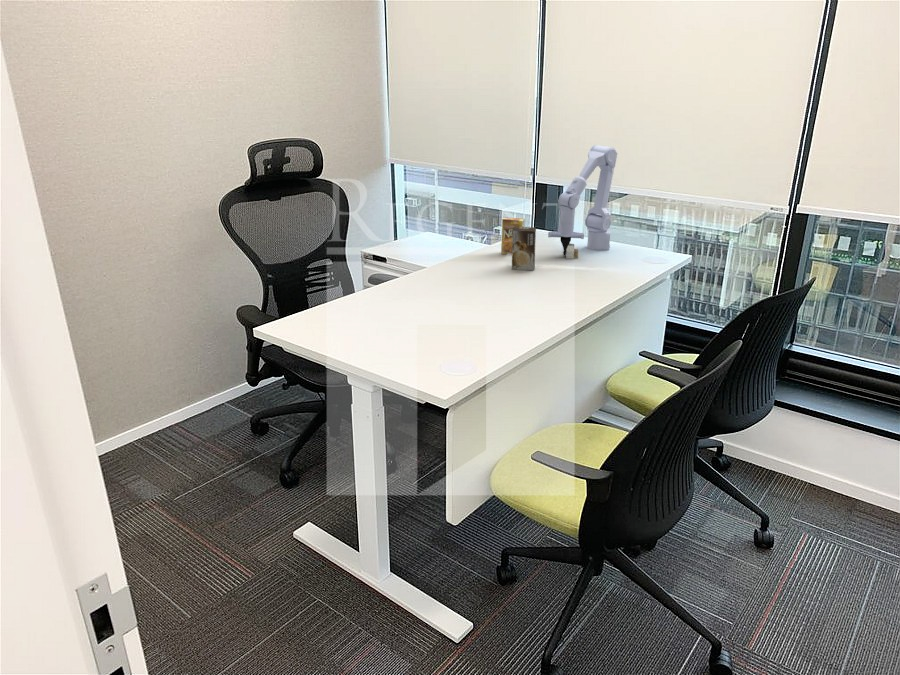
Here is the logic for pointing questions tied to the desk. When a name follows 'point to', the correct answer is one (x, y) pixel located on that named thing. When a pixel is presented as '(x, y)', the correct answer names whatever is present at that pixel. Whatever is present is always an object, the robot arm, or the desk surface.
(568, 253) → the bar
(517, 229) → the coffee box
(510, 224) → the candy box
